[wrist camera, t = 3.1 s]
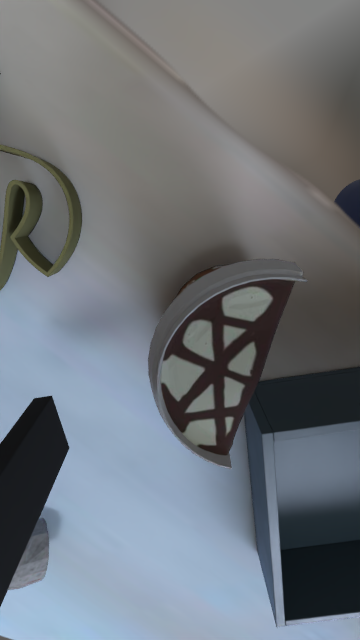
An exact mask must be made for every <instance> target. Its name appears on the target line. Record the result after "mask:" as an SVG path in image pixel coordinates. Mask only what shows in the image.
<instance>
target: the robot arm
mask: <svg viewBox="0 0 360 640" xmlns="http://www.w3.org/2000/svg"><path fill="white" fill-rule="evenodd" d="M68 450H69V446H68V443H67V440H66V437H65V434H64V431H63V428H62V425H61V422H60V419H59V416H58V413H57V410H56V407H55V404H54V401H53V398H52V396H47V397H41V398H34V399H33V401H32V402H31V403H30V405H29V406H28V407H27V409H26V410H25V411H24V413H23V414H22V415H21V417H20V418H19V419H18V421H17V422H16V423H15V425H14V426H13V427H12V429H11V430H10V431H9V433H8V434H7V436H6V437H5V438H4V440H3V441H2V442H1V444H0V606H1V604H2V602H3V599H4V597H5V595H6V593H7V590H8V588H9V586H10V583H11V581H12V579H13V576H14V574H15V572H16V569H17V567H18V565H19V563H20V560H21V558H22V556H23V553H24V551H25V549H26V546H27V544H28V542H29V540H30V537H31V535H32V533H33V530H34V528H35V526H36V523H37V521H38V519H39V517H40V514H41V512H42V510H43V507H44V505H45V503H46V500H47V498H48V496H49V493H50V491H51V489H52V487H53V484H54V482H55V480H56V477H57V475H58V473H59V470H60V468H61V466H62V464H63V461H64V459H65V457H66V454H67V452H68Z"/></svg>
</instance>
